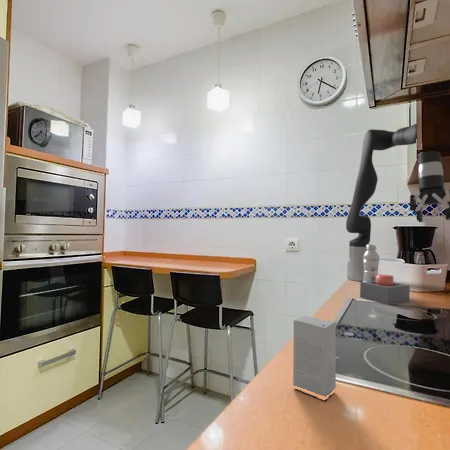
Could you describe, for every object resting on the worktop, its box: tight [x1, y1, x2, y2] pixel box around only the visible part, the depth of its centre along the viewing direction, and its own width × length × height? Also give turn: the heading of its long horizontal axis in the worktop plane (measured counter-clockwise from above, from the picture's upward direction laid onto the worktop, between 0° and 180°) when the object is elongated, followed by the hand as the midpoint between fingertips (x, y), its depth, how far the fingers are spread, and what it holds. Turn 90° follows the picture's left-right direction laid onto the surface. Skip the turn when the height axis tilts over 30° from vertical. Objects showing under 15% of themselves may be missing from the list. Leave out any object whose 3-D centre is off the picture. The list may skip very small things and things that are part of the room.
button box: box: [359, 281, 411, 306], centre depth 120 cm, size 12×12×6 cm
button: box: [376, 274, 394, 286], centre depth 120 cm, size 6×6×5 cm
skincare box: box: [292, 315, 337, 397], centre depth 54 cm, size 6×4×12 cm
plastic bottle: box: [362, 244, 380, 282], centre depth 132 cm, size 6×7×20 cm
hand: (433, 220), depth 112 cm, fingers open, 8 cm apart
